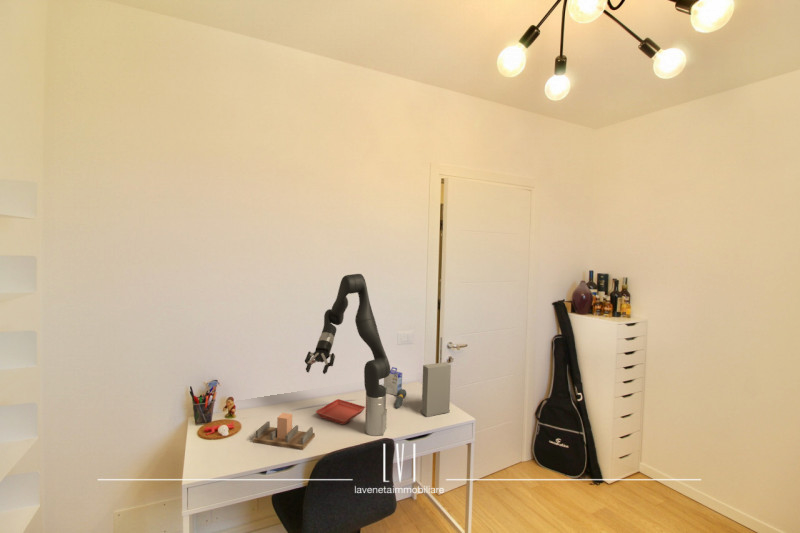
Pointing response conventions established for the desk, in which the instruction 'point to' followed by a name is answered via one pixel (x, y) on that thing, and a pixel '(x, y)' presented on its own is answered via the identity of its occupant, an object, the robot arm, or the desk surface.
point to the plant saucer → (340, 411)
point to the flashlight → (400, 397)
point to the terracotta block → (284, 425)
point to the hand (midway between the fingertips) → (315, 372)
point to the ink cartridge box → (393, 382)
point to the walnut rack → (292, 440)
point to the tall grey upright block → (436, 389)
